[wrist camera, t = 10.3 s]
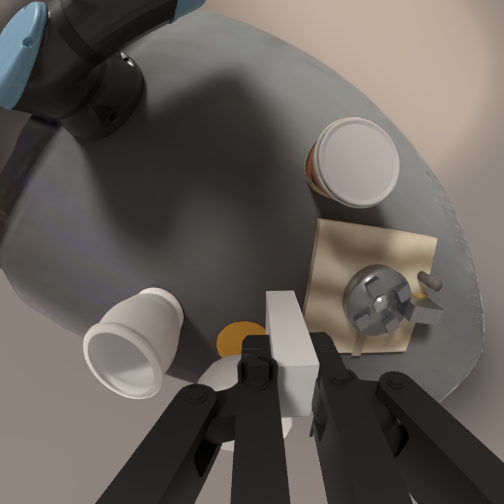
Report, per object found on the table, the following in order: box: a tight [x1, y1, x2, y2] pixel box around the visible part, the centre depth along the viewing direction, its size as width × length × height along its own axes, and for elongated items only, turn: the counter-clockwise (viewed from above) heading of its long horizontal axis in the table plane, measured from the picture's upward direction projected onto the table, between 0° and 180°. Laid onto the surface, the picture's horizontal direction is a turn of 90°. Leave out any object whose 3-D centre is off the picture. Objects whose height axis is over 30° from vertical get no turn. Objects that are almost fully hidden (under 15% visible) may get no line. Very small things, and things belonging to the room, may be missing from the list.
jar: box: [83, 288, 184, 399], centre depth 33 cm, size 11×10×15 cm
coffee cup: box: [304, 117, 400, 208], centre depth 29 cm, size 9×9×12 cm
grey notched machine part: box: [343, 264, 445, 336], centre depth 34 cm, size 16×10×5 cm, turn 78°
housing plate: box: [302, 218, 442, 356], centre depth 36 cm, size 20×20×7 cm
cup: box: [197, 321, 293, 451], centre depth 33 cm, size 12×12×17 cm
